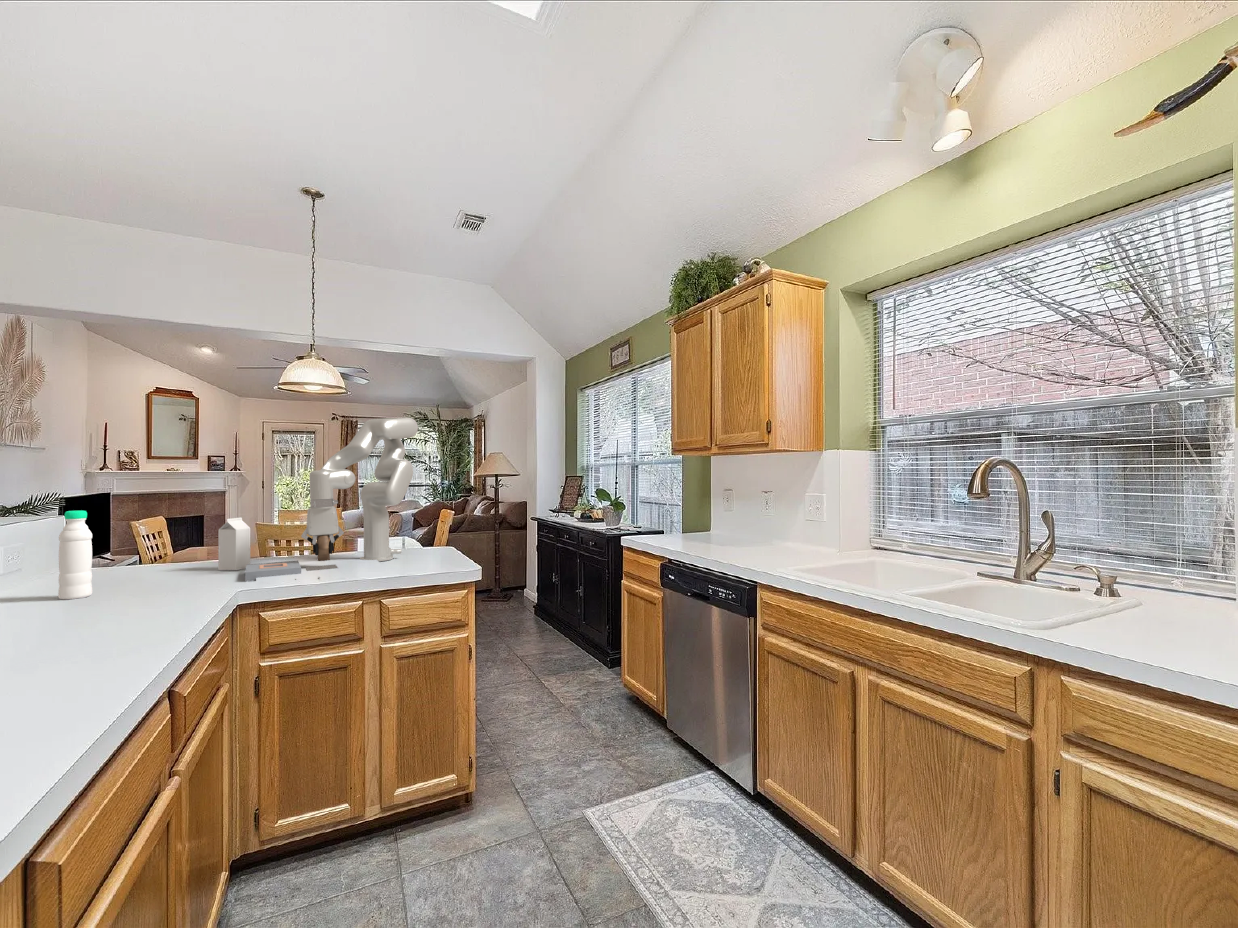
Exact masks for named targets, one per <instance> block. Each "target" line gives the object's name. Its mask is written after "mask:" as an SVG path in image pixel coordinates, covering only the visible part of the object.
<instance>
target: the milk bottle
mask: <svg viewBox="0 0 1238 928" xmlns="http://www.w3.org/2000/svg"><path fill="white" fill-rule="evenodd" d="M87 518H88V512H87V510H68V511H65V512H64V519H65V521H66V524H65V526H63V528H62V530H61V532H60V533H59V536H58V541H59V545H58V547H59V548H58V570H59V575H58V592H57V593H58V594H57V595H58V598H59V599H60V600H65V601H66V600H77V599H83V598H88V597H90V596H91V595H92V594H93V585H92V581H93V580H92V579H93V573H92V572H93V571H92V567H93V545H92V544H93V542H92V539H93V533H92V531H91V530H90V529H89V526H88V525H87V524H86V520H87Z"/></svg>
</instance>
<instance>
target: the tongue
mask: <svg viewBox="0 0 1238 928" xmlns="http://www.w3.org/2000/svg"><path fill="white" fill-rule="evenodd" d="M304 567H305V570H306V571H307V572H311V571H321V570H332V569H335V570H336V569H339V567H338V566H337V564H326V565H314V566H304Z"/></svg>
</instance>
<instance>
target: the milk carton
mask: <svg viewBox="0 0 1238 928" xmlns="http://www.w3.org/2000/svg"><path fill="white" fill-rule="evenodd" d="M217 536H218V541H217V542H218V550H217V551H218V558H217V559H218V561H217V563H218V571H239V570H246V566H247V564H251V527H250V526H249V525H248V524H247V523H246V522H245V521H243V517H233V518H232V517H231V518H227V519H226V522H225V523H224V524H222V526H221V527H219V529H218V535H217Z"/></svg>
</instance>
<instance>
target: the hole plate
mask: <svg viewBox="0 0 1238 928" xmlns="http://www.w3.org/2000/svg"><path fill="white" fill-rule="evenodd" d="M301 566H302V565H301V564H300V561H299V560H287V561H275V562H263V563H262V562H261V563H250V564H247V566H246V568H245V571H244V573H245V575H244V578H245V579H244V581H245V582H256V581H257V578H268V577H278V576H288V575H289V576H291V575H300V574H301V575H302V567H301Z"/></svg>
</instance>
